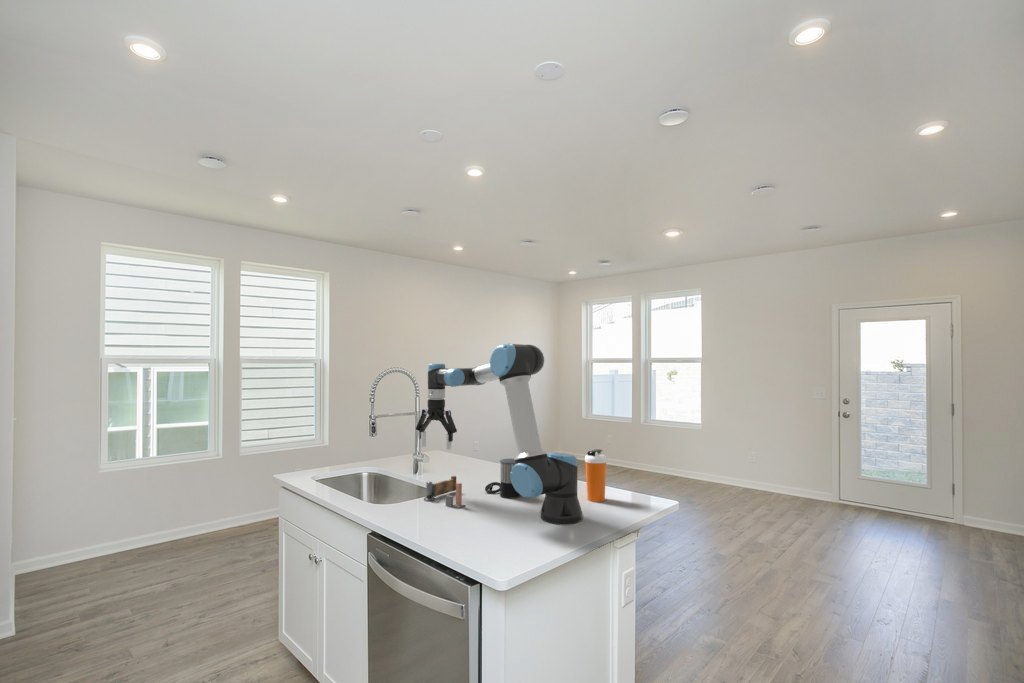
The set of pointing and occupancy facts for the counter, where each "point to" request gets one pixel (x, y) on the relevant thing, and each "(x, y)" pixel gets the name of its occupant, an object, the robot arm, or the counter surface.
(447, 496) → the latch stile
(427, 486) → the hinge post
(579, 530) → the counter surface
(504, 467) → the corded kitchen appliance
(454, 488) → the gate
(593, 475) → the shaker bottle
